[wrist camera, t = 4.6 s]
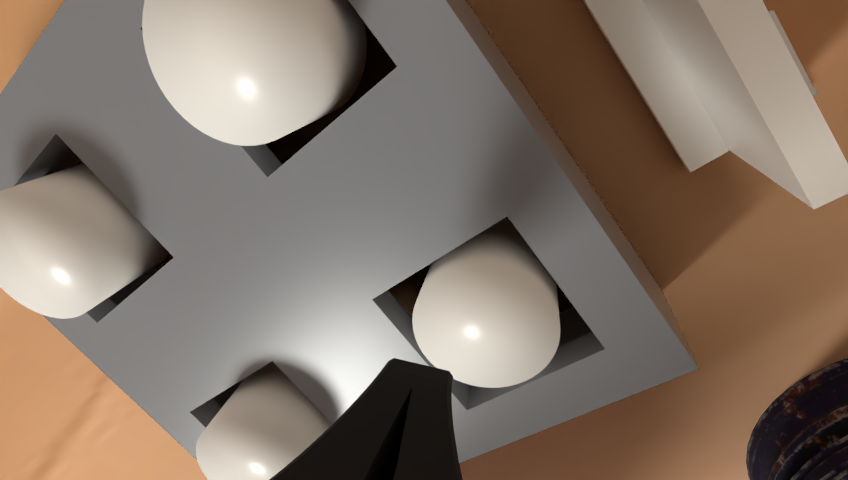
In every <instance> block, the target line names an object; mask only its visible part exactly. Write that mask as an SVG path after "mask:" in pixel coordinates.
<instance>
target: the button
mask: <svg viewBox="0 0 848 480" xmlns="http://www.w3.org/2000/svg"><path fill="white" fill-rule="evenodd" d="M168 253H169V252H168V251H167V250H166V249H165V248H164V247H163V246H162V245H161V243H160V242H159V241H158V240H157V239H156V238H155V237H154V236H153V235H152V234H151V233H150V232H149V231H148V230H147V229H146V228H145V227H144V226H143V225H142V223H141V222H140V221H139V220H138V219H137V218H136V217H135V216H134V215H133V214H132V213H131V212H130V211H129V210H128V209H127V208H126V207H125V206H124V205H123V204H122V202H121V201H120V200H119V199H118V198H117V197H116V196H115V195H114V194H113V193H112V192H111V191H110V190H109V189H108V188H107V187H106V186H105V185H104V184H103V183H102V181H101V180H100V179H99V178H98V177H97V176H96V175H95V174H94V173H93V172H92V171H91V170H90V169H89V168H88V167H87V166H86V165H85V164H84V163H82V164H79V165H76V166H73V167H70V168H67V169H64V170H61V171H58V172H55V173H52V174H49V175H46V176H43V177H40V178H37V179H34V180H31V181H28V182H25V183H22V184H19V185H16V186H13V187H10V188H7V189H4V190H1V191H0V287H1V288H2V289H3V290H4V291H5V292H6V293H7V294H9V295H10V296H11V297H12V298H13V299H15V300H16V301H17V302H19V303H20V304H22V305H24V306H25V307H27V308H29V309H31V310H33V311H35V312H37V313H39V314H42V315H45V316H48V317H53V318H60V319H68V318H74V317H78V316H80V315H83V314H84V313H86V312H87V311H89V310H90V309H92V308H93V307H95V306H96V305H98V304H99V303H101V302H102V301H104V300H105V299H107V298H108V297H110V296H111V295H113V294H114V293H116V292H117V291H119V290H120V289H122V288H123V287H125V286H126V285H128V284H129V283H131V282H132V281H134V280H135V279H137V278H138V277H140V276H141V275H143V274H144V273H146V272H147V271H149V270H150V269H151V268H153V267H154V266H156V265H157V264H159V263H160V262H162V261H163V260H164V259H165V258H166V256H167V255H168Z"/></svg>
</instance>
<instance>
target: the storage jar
mask: <svg viewBox="0 0 848 480" xmlns="http://www.w3.org/2000/svg"><path fill="white" fill-rule="evenodd" d="M746 463H747V469H748V476H749V478H750V480H848V359H845V360H842V361H839V362H836V363H834V364H831V365H829V366H827V367H825V368H823V369H821V370H819V371H817V372H815V373H813V374H811V375H809V376H807V377H806V378H804V379H803V380H801V381H799V382H798V383H796V384H795V385H793V386H792V387H790V388H789V389H788V390H787V391H785V392H784V393H783V394H782V395H781V396H780V397H778V398H777V399H776V400H775V401H774V402H773V403H772V404H771V405H770V406H769V408H768V409H767V410H766V411H765V412H764V413H763V415H762V416H761V417H760V419H759V421H758V423H757V424H756V426H755V428H754V429H753V431H752V434H751V437H750V440H749V443H748V447H747V458H746Z"/></svg>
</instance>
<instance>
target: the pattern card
mask: <svg viewBox="0 0 848 480" xmlns="http://www.w3.org/2000/svg"><path fill="white" fill-rule="evenodd" d="M582 1H583V2H584V4H585V5H586V7H587V9H588V10H589V12H590V14H591V15H592V17H593V18H594V20H595V22H596V23H597V25H598V27H599V28H600V30H601V31H602V33H603V35H604V36H605V38H606V40H607V41H608V43H609V44H610V46H611V48H612V49H613V51H614V53H615V54H616V56H617V57H618V59H619V61H620V62H621V64H622V65H623V67H624V69H625V70H626V72H627V74H628V75H629V77H630V78H631V80H632V82H633V83H634V85H635V87H636V88H637V90H638V91H639V93H640V95H641V96H642V98H643V100H644V101H645V103H646V104H647V106H648V108H649V109H650V111H651V113H652V114H653V116H654V117H655V119H656V121H657V122H658V124H659V126H660V127H661V129H662V130H663V132H664V134H665V135H666V137H667V139H668V140H669V142H670V143H671V145H672V147H673V148H674V150H675V152H676V153H677V155H678V156H679V158H680V160H681V161H682V163H683V165H684V166H685V167H686V168H687V169H688V170H689V171H690V172H692V171H694V170H696V169H698V168H700V167H701V166H703V165H705V164H707V163H708V162H710V161H712V160H714V159H716V158H717V157H719V156H721V155H723V154H725V153H726V152H728V151H731V152H732V153H734V154H735V155H737V156H738V157H739V158H741V159H742V160H744V161H745V162H747V163H748V164H749V165H751V166H752V167H754V168H755V169H757V170H758V171H759V172H761V173H762V174H764V175H765V176H767V177H768V178H770V179H771V180H772V181H774V182H775V183H777V184H778V185H780V186H781V187H782V188H784V189H785V190H787V191H788V192H790V193H791V194H792V195H794V196H795V197H797V198H798V199H800V200H801V201H802V202H804V203H805V204H807V205H808V206H810V207H811V208H813V209H816V208H819V207H821V206H823V205H825V204H827V203H829V202H831V201H833V200H835V199H837V198H839V197H842V196H844V195H846V194H848V163H847V161H846V159H845V157H844V155H843V153H842V151H841V150H840V148H839V146H838V144H837V142H836V140H835V138H834V136H833V134H832V132H831V130H830V129H829V127H828V125H827V123H826V121H825V119H824V117H823V115H822V113H821V111H820V109H819V108H818V106H817V104H816V102H815V100H814V98H813V96H815V95H817V92H816V90H815V89H814V87H813V85H812V83H811V81H810V79H809V77H808V75H807V73H806V71H805V69H804V67H803V65H802V64H801V62H800V60H799V58H798V56H797V54H796V52H795V50H794V48H793V46H792V44H791V42H790V40H789V39H788V37H787V35H786V33H785V31H784V29H783V27H782V25H781V23H780V21H779V19H778V17H777V15H776V14H775V12H774V10H767V8H766V6H765V4H764V2H763V1H762V0H582Z"/></svg>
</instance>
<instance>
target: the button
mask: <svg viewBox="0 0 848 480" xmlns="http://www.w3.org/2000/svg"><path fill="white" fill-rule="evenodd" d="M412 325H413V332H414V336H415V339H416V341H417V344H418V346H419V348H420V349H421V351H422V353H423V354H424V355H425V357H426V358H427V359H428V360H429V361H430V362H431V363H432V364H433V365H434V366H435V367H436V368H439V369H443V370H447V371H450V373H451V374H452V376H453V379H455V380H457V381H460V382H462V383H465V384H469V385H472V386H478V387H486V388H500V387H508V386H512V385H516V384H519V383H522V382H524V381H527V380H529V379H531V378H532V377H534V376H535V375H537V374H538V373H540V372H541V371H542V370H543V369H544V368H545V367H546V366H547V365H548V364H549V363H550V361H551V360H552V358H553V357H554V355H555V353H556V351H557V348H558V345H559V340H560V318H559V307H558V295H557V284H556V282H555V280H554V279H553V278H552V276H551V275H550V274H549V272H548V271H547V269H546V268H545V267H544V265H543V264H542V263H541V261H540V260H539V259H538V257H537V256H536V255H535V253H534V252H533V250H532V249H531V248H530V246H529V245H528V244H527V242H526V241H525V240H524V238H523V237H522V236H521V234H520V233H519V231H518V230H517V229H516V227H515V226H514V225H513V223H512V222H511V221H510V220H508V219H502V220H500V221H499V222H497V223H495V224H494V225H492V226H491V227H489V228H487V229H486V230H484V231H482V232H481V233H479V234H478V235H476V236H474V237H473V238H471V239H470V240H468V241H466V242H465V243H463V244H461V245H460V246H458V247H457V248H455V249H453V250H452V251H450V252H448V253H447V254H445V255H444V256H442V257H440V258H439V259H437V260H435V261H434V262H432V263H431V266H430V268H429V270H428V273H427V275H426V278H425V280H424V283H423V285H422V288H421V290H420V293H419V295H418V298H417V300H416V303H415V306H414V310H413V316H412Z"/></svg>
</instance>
